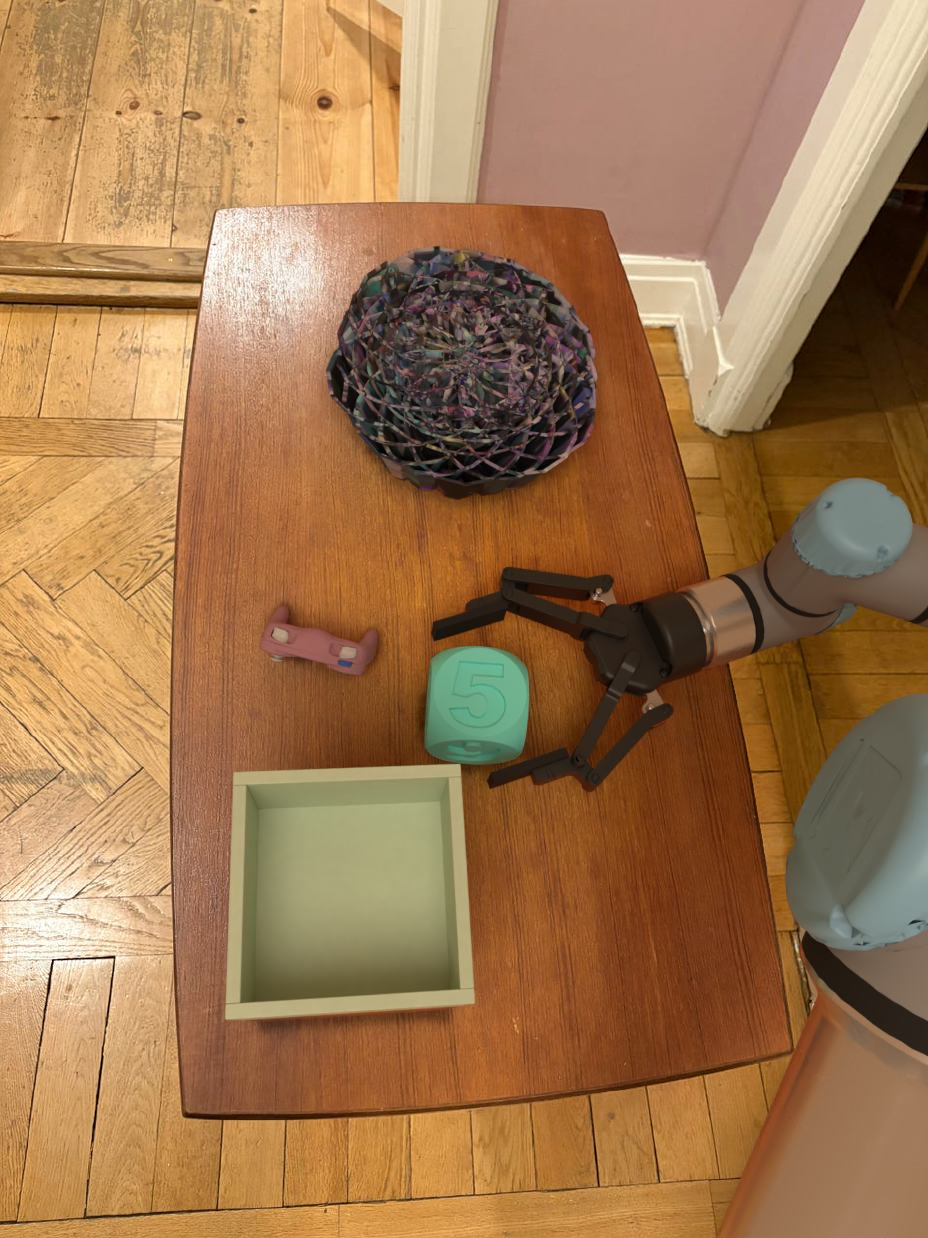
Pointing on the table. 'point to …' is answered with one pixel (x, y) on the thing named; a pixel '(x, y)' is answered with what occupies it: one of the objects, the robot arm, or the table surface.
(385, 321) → the decorative bowl
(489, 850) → the table surface
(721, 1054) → the table surface
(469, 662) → the decorative dice
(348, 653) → the video game controller
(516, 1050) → the table surface
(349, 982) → the bin
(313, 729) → the table surface
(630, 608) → the robot arm
